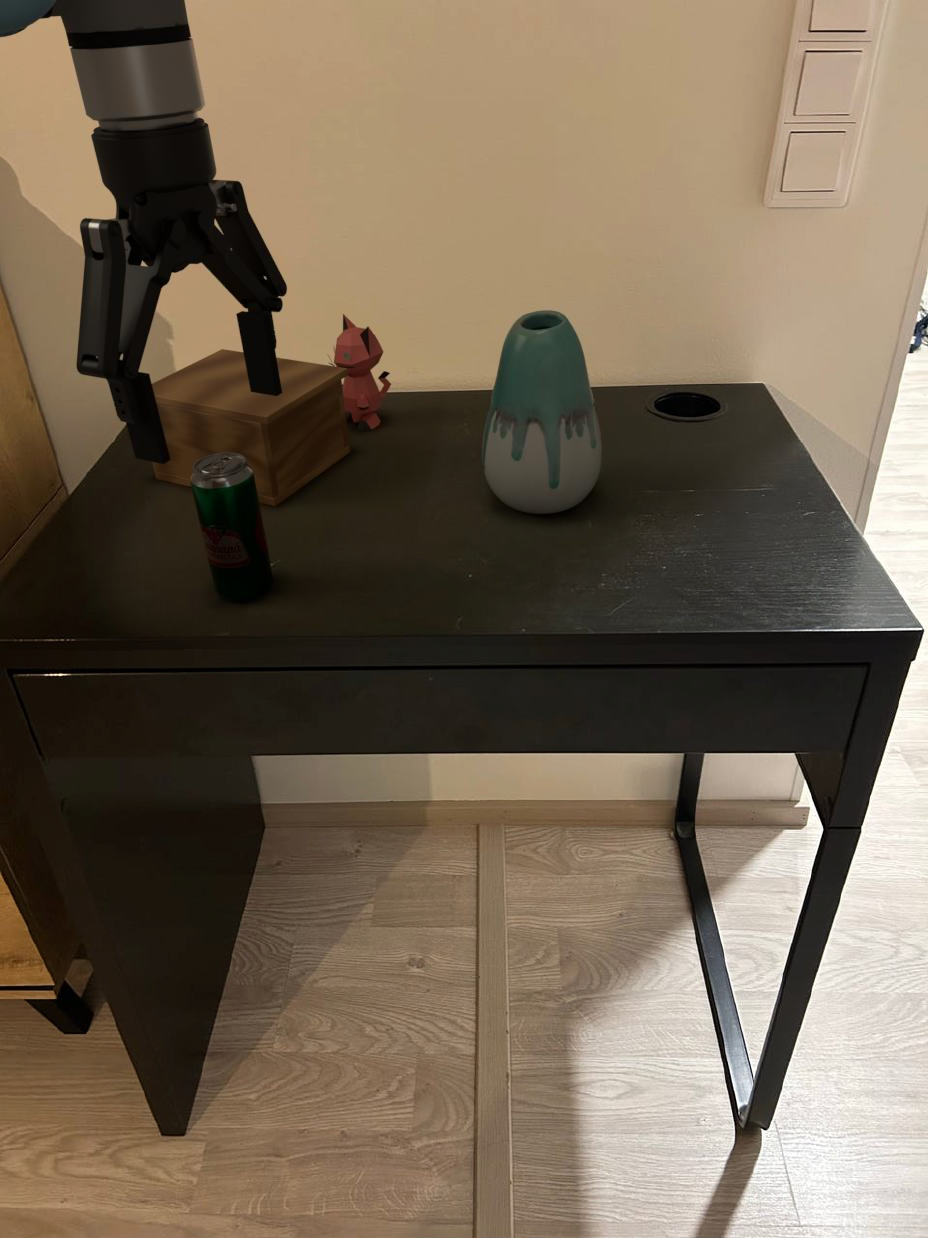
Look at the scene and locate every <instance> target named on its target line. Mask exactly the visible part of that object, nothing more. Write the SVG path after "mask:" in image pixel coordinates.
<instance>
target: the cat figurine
mask: <svg viewBox="0 0 928 1238" xmlns="http://www.w3.org/2000/svg"><path fill="white" fill-rule="evenodd" d="M381 345H382V344H381V343H380V341H379V339H378V338H377V336H376V334H374V332H373V331H372V329H371V328H370V327H369V326H366V327H365V328H363V327H358V326H356V325H355V324H354V323H353V322H352V321H351V320H350V319H349V318H348V316H346V315H345V314H344V313H342V332H341V333H340V334H339V335H338V336H337V338H336V342H335V345H333V353H334V357H333V361H332V359H331V357H330V355H329V354H327V356H328V358H329V360H330V362H331V363H330V362H328V365H330V366H335V367H342V368H347V371H348V376H346V377H345V378H343V382H342V389H343V397H344V406H345V412H346V413H348V414H347V415H346V422H347V423H352V424H353V423H354V424H355V423H358V426H357V431H361V432H365V431H366V432H367V431H372V430H373V429H375V428H376V427H378V426H379V425H380V423H381V419H380V418H379V416H378V415H377V412H374V411H375V410H376V411H377V410H379V409H381V407H382V406H381V399H383V398H385V397H386V395H387V393H388V391H389V390H390V388H391V386H392V383H391V382H390V380H388V378H387V377H388V376H389V375H390V374H391V372H389V371H385V370H383V371H382V372H381V374H379V376H377V379H378V380H379V382H381V384H383V386H382V387H381V390H379V387H378V384H377V382H376V379H375V377H374V376H373V373H372V371H371V370H372V369H374V368H375V367H376V366H377V365H378V364H379V363H380V361H381V358H382V357H383V354H384V349H383V348H382V346H381Z"/></svg>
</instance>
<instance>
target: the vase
mask: <svg viewBox="0 0 928 1238" xmlns="http://www.w3.org/2000/svg"><path fill="white" fill-rule="evenodd" d="M597 409H598V408H597V404H596V400H595V398H594V394H593V391H592V387H591V383H590V377H589V372H588V367H587V363H586V358H585V353H584V349H583V346H582V342H581V340H580V337H579V335H578V333H577V331H576V329H575V327H574V326H573V324H572V322H571V321H570V320H569V318H567V316H566V315H565V314H564V313H561V312H560V311H557V310H550V309H545V310H543V309H542V310H535V311H532V312H528V313H524V314H523V315H521V316H520V317H519V318H517V319H516V320H515V321H514V322H513V324H512V325H511V326H510V329H509V330H508V332H507V334H506V336H505V338H504V341H503V344H502V348H501V352H500V357H499V361H498V366H497V371H496V377H495V381H494V385H493V388H492V391H491V397H490V405H489V408H488V411H487V416H486V419H485V425H484V429H483V435H482V442H481V464H482V470H483V474H484V475H483V476H484V478H485V481H486V483H487V486H488V487H489V488H490V490H491V491H492V493H493V494H494V496H495V497H496V498H497V499H498V500H499V501H501V502H502V503H503V504H504V505H506V506H507V507H509V508H511V509H513V510H516V511H519V512H520V513H521V512H522V513H526V514H533V515H551V514H557V513H560V512H564V511H567V510H569V509H572V508H574V507H575V506H578V505H579V504H580V503H582V501H583V500H585V499H586V498H587V497H588V496H589V494H591V492H592V490H593V489H594V487H595V485H596V484H597V482H598V480H599V477H600V474H601V471H602V465H603V440H602V431H601V426H600V420H599V415H598V410H597Z"/></svg>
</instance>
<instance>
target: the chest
mask: <svg viewBox="0 0 928 1238" xmlns="http://www.w3.org/2000/svg"><path fill="white" fill-rule="evenodd" d="M342 384H343V381H342V379H341V380H340V381H338V382H336V383H335V384H333V385H332V386H330V387H328V388H327V389H325V390H323V391H322V392H320V393H319V394H317V395H315V396H314V397H312V398H310V399H309V400H307V401H306V402H304V403H302V404H301V405H299V406H297V407H296V408H294V409H293V410H291V411H289V412H288V413H286V414H284V415H283V416H281V417H280V418H278V419H276V420H275V421H273V422H271V423H270V424H263V423H257V422H252V421H247V420H242V419H236V418H231V417H226V416H221V415H215V414H210V413H205V412H200V411H194V410H189V409H184V408H179V407H173V406H168V405H163V404H157V407H158V411H159V415H160V419H161V423H162V427H163V431H164V435H165V440H166V444H167V448H168V452H169V456H170V461H168V462H166V463H165V464H160V463H156V462H151V463H152V467H153V471H154V476H155V479H156V480H158V481H162V482H167V483H170V484H176V485H180V486H185V487H188V488H191V483H190V478H191V476H192V473H193V471H192V466H193V464H194V463H195V462H196V461H197V460H199V459H200V458H203V457H205V456H208V455H211V454H216V453H226V452H227V453H237V454H240V455H242V456H244V457H245V458H246V460H247V464H248V465H249V466H250V467H251V468H252V469H253V472H254V477H255V483H256V488H257V493H258V499H259V504H263V505H268V506H273V507H276V506H278V505H279V504H280V503H282V502H283V501H285V500H286V499H288V498H289V497H290V496H291V495H293V494H294V493H296V492H297V491H299V490H300V489H301V488H302V487H304V486H305V485H307V484H308V483H309V482H311V481H312V480H314V479H315V478H316V477H318V476H320V475H321V474H322V473H324V472H325V471H326V470H327V469H329V468H330V467H332V466H333V465H334V464H336V463H338V461H340V460H341V459H343V458H345V457H346V456H347V455H348V454H350V453H351V447H350V441H349V439H350V438H349V432H348V431H349V430H348V422H346V416H347V415H346V414H347V413H346V410H345V406H344V397H343V389H342Z"/></svg>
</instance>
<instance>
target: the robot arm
mask: <svg viewBox="0 0 928 1238" xmlns="http://www.w3.org/2000/svg"><path fill="white" fill-rule="evenodd" d="M51 17H53V18H55V17H60V19H61V22H62V24H63V28H64V30H65V35H66V39H67V44H68V47H70V48H69V51H70V55H71V58H72V63H73V67H74V71H75V75H76V79H77V82H78V87H79V90H80V95H81V100H82V103H83V108H84V112H85V115H86V116H87V117H88V118H90V119H91V120H92V121H96V122H98V126H96V127H94V129H93V130H92V131H93V133H91V135H90V138H91V142H92V145H93V149H94V154H95V158H96V162H97V165H98V170H99V174H100V179H101V181H102V184H103V185H104V187H105V188H106V189H107V190H108V191H109V192H110V193H111V195H112V196H113V198H114V200H115V218H107V219H104V218H103V219H102V218H90V217H85V218H82V219H81V221H80V224H79V231H80V236H81V242H82V247H83V248H82V249H83V251H84V252H83V254H84V265H83V277H82V290H81V300H80V301H81V302H80V303H81V304H80V313H79V314H80V315H79V326H78V327H79V328H78V340H77V353H76V370H77V373H79V374H80V375H82V376H88V377H93V378H99V379H105V380H106V381H107V384H108V387H109V390H110V395H111V399H112V402H113V405H114V406H113V407H114V408H115V413H116V416H117V418H118V419H119V421H120V422H123V423H125V425H126V428H127V431H128V432H127V433H128V435H129V440H130V444H131V445H132V451H133V453H134V454H133V455H134V458H135V459H138V460H141V461H142V460H143V461H147V462H151V463H152V462H156V463H160V464H165V463H166V462H168V461H170V456H169V452H168V448H167V444H166V440H165V435H164V431H163V427H162V423H161V419H160V415H159V411H158V407H157V403H156V399H155V395H154V391H153V387H152V380H151V375H150V373H148V372H142V371H140V367H141V364H142V360H143V356H144V353H145V350H146V346H147V342H148V340H149V339H148V338H149V335H150V332H151V327H152V324H153V321H154V317H155V315H156V310H157V306H158V303H159V300H160V296H161V292H162V289H163V287H165V286H167V285H168V284H169V283H170V280H171V277H172V275H173V274H176V273H179V272H182V271H184V270H185V269H186V268H187V267H188V266H189V265H199V264H202V265H203V266H204V267H205V268H206V269H207V270H208V271H209V272H210V273H211V275H212V276H213V277H214V278H215V279H216V280H217V281H218V282H219V283H220V284H221V285H222V286H223V287H224V288H225V289H226V290H227V291H228V293H230V295H231V296H232V297H233V298H234V299H235V300H236V301H237V302H238V303H239V304H240V305H241V307H243V309H247V311H245V310H241V311H239V312H237V313H235V315H236V319H237V320H236V321H237V325H238V330H239V336H240V341H241V347H242V352H243V353H244V358H245V364H246V369H247V374H248V380H249V385H250V390H251V392H255V393H261V394H267V395H273V396H278V395H280V394H281V393H282V388H281V382H280V376H279V370H278V364H277V358H278V357H277V352H276V349H277V342H278V341H277V336H276V330H275V324H274V317H273V313H280V312H281V311H282V310H283V306H284V303H283V299H282V297H285V296H286V295H287V293H288V285H287V283H286V281H285V278H284V276H283V275H282V273H281V271H280V270H279V267H278V265H277V264H276V261H275V259H274V257H273V255H272V253H271V252H270V250H269V248H268V246H267V243H266V242H265V239H264V237H263V235H262V234H261V233H260V231H259V229H258V227H257V225H256V222H255V221H254V219H253V217H252V215H251V213H250V211H249V207H248V203H247V199H246V195H245V191H244V187H243V184H242V183H241V181H239V180H227V179H215V177H216V175H217V165H216V159H215V155H214V148H213V143H212V138H211V133H210V128H209V124H208V123H207V122H205V119H204V118H202V117H199V114H198V112H200V111H202V109H203V108H204V107H205V106H206V102H205V95H204V90H203V87H202V80H201V75H200V70H199V66H198V60H197V54H196V49H195V45H194V39H193V38H192V35H191V34H192V33H191V28H190V23H189V19H188V13H187V7H186V0H0V38H6V37H10V36H13V35H17V34H19V33H21V32H22V31H24V30H26V29H27V28H28V27H29V26H31V25H33V24H35V23H36V22H38V21H39V20H42V19H50V18H51ZM215 221H216V223H217V225H218V227H217V226H216V223H215ZM142 263H144V265H142ZM121 357H122V359H121ZM276 357H277V358H276Z"/></svg>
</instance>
